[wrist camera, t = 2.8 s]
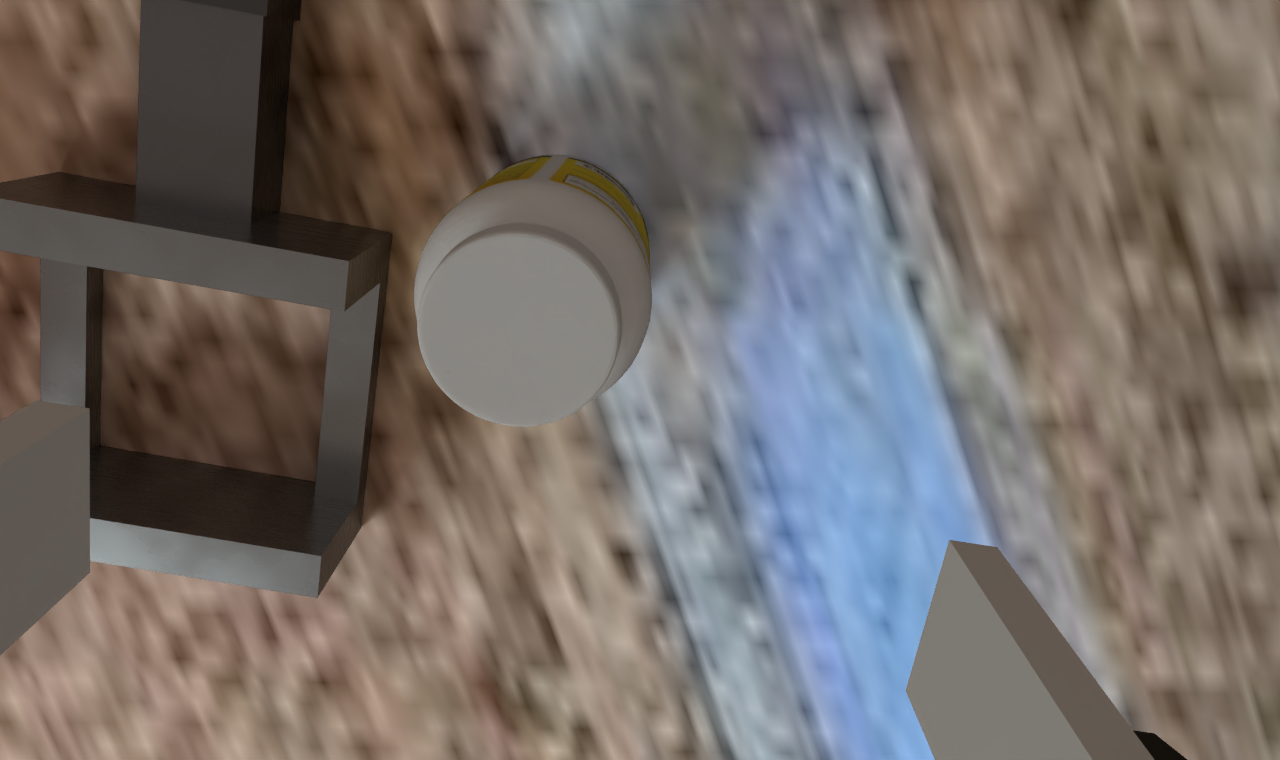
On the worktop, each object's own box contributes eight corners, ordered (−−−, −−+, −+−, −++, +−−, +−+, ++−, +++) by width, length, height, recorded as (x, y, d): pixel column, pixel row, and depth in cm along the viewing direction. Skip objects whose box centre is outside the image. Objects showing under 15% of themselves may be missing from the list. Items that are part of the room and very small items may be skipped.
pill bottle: (463, 329, 34) (379, 448, 23) (467, 145, 32) (379, 185, 22) (643, 343, 34) (640, 468, 24) (658, 160, 32) (663, 208, 22)
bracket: (58, -184, 29) (-56, -232, 24) (428, -110, 30) (387, -144, 25) (57, 476, 36) (-34, 540, 31) (361, 527, 36) (317, 598, 31)
